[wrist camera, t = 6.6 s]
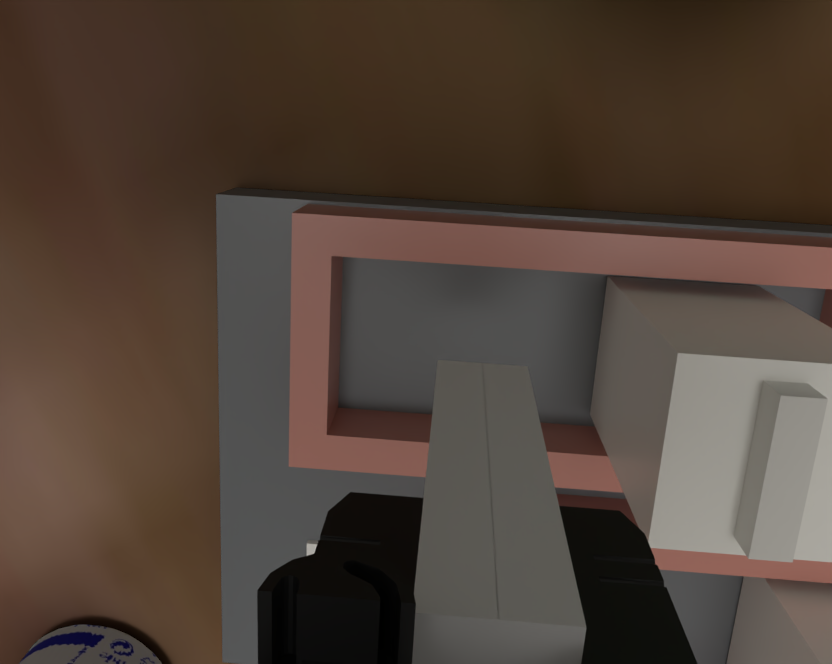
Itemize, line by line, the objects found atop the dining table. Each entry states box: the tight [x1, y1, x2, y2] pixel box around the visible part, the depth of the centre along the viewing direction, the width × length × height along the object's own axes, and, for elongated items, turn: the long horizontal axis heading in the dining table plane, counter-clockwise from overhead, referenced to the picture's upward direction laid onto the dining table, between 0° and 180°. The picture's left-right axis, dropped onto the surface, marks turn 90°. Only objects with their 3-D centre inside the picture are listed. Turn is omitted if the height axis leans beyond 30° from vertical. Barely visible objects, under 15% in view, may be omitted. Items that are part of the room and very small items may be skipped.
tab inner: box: [590, 276, 832, 562], centre depth 17 cm, size 4×4×8 cm
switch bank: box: [216, 188, 832, 664], centre depth 22 cm, size 15×24×4 cm, turn 87°
